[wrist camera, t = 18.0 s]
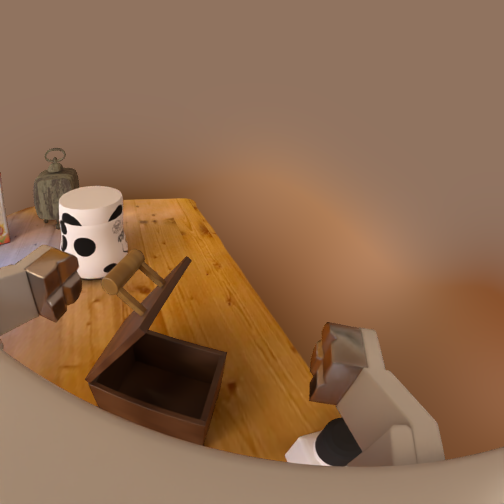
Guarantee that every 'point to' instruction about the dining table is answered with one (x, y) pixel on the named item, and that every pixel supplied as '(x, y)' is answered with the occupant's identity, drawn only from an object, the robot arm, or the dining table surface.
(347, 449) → the medicine bottle
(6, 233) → the cracker box
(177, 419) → the chest
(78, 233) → the milk container
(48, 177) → the tabletop clock
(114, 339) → the chest lid
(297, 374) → the dining table surface
